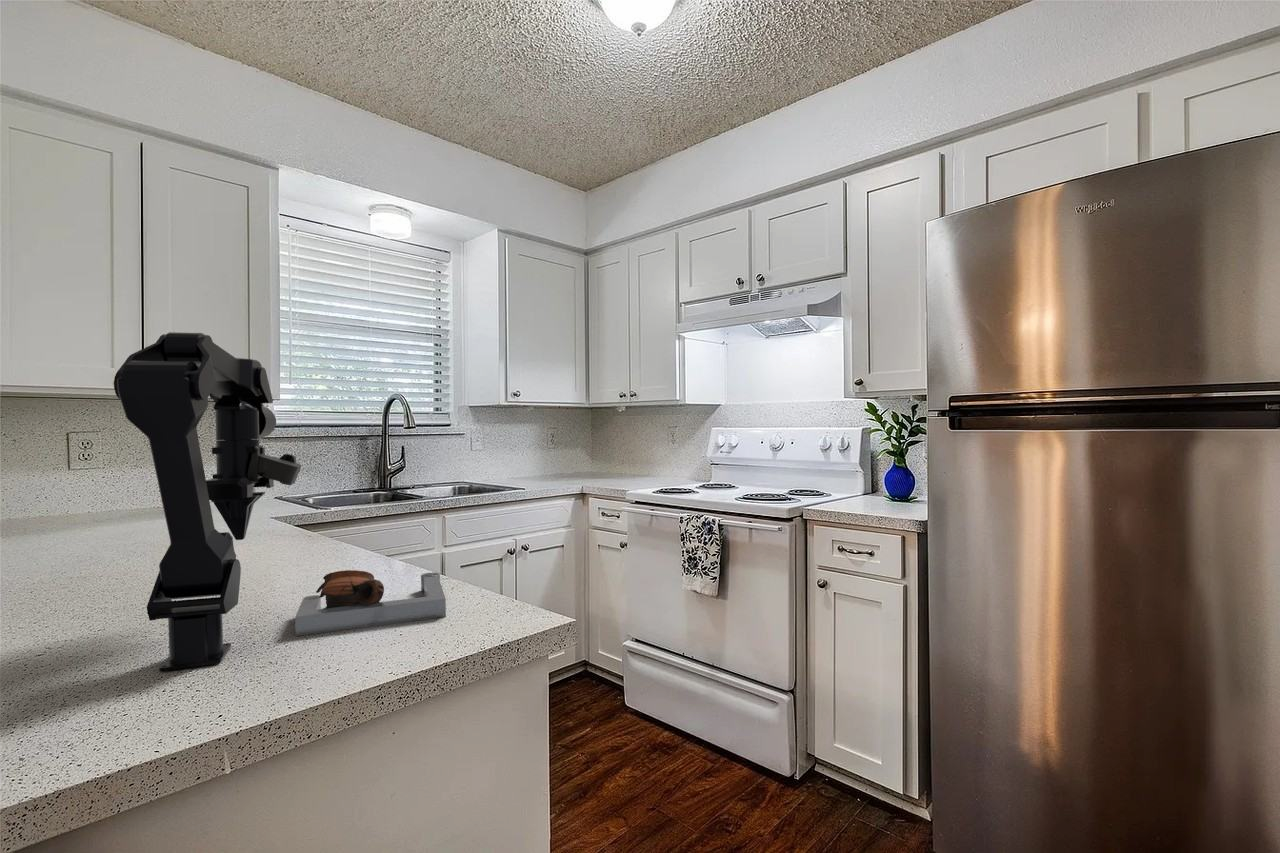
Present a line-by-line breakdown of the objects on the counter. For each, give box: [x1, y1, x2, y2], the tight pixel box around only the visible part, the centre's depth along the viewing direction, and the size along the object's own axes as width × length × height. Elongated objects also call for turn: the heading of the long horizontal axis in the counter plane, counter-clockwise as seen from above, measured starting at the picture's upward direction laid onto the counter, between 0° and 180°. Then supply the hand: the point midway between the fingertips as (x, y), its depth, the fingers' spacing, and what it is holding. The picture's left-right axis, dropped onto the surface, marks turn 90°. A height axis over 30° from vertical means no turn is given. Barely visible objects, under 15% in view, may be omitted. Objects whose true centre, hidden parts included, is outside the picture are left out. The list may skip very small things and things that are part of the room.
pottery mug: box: [315, 569, 385, 609], centre depth 98 cm, size 12×10×8 cm
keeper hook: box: [294, 572, 447, 637], centre depth 101 cm, size 18×21×3 cm
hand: (240, 539), depth 97 cm, fingers closed
